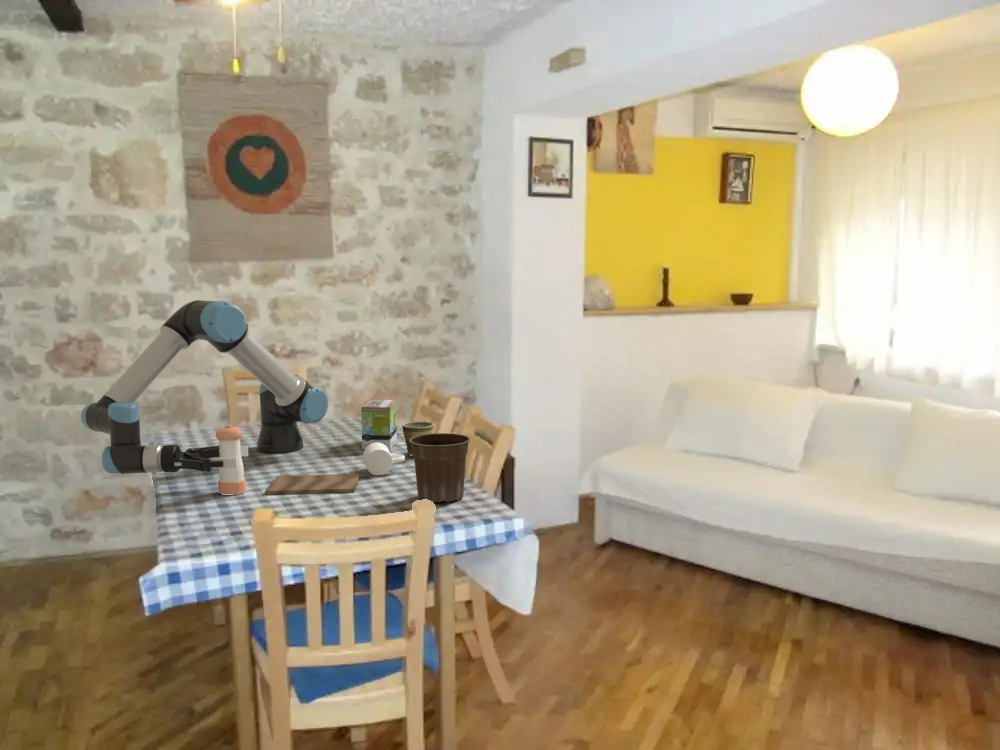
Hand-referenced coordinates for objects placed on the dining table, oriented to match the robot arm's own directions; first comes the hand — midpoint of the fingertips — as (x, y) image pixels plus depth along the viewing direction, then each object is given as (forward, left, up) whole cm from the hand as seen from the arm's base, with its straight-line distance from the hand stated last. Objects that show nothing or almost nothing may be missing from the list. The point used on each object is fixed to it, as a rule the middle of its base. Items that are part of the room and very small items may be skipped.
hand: (242, 456), depth 243 cm
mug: (-3, +42, -10) cm, 43 cm away
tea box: (-37, +52, -10) cm, 65 cm away
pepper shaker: (-1, -3, -10) cm, 11 cm away
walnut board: (+3, +19, -10) cm, 22 cm away
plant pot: (+31, +46, -10) cm, 56 cm away
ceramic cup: (-19, +59, -10) cm, 63 cm away
